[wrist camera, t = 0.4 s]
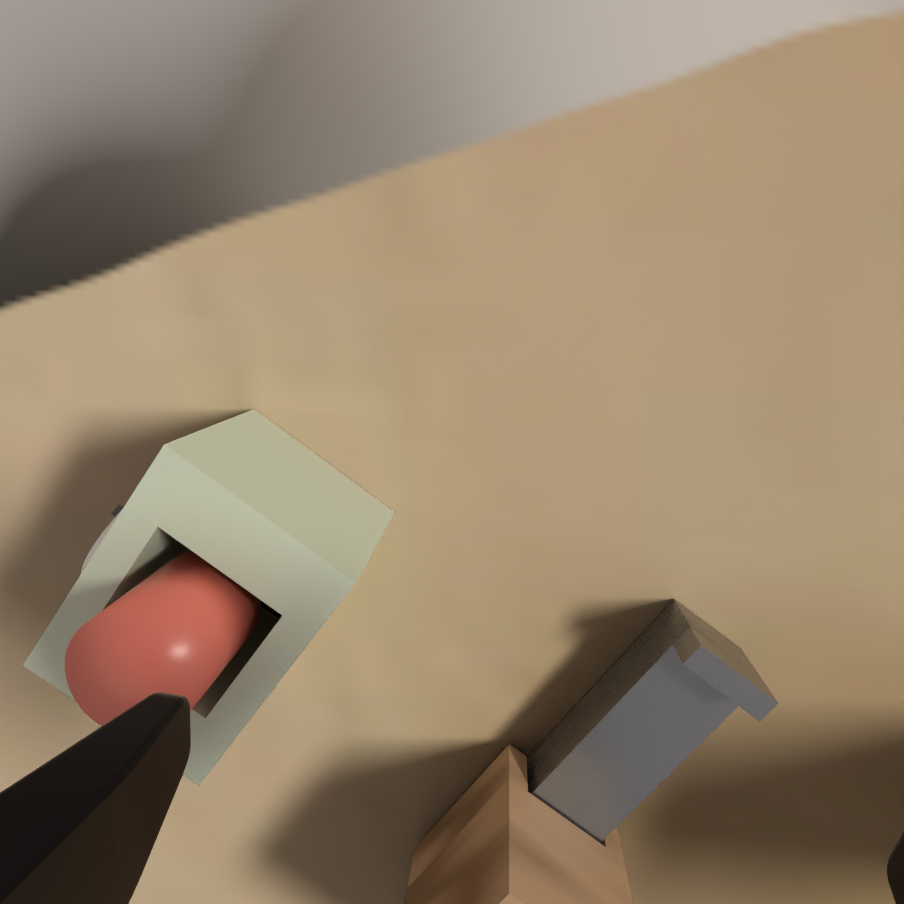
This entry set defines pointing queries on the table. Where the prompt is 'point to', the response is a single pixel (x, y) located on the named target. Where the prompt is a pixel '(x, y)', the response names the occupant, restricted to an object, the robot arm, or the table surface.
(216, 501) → the cabinet
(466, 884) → the block
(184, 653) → the gauge button
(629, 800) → the rail
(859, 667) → the table surface
